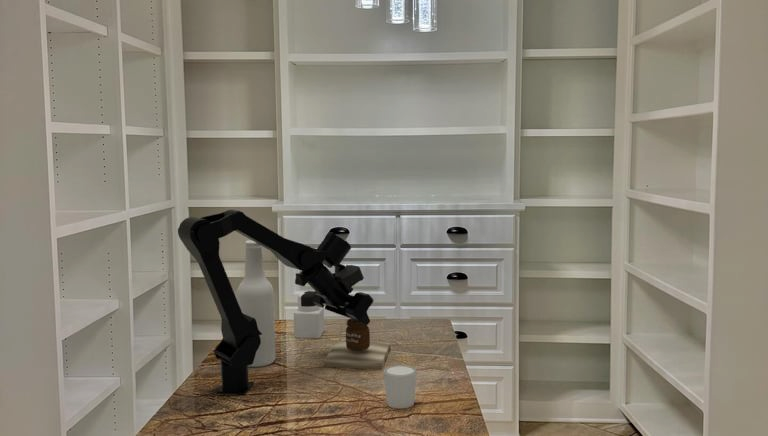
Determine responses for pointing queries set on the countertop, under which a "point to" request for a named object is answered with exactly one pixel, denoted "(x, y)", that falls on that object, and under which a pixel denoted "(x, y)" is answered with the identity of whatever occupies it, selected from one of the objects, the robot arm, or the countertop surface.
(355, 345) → the utensil holder
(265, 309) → the alcohol
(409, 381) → the white cup
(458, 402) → the countertop surface
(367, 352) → the ash cloth
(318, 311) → the medicine bottle
